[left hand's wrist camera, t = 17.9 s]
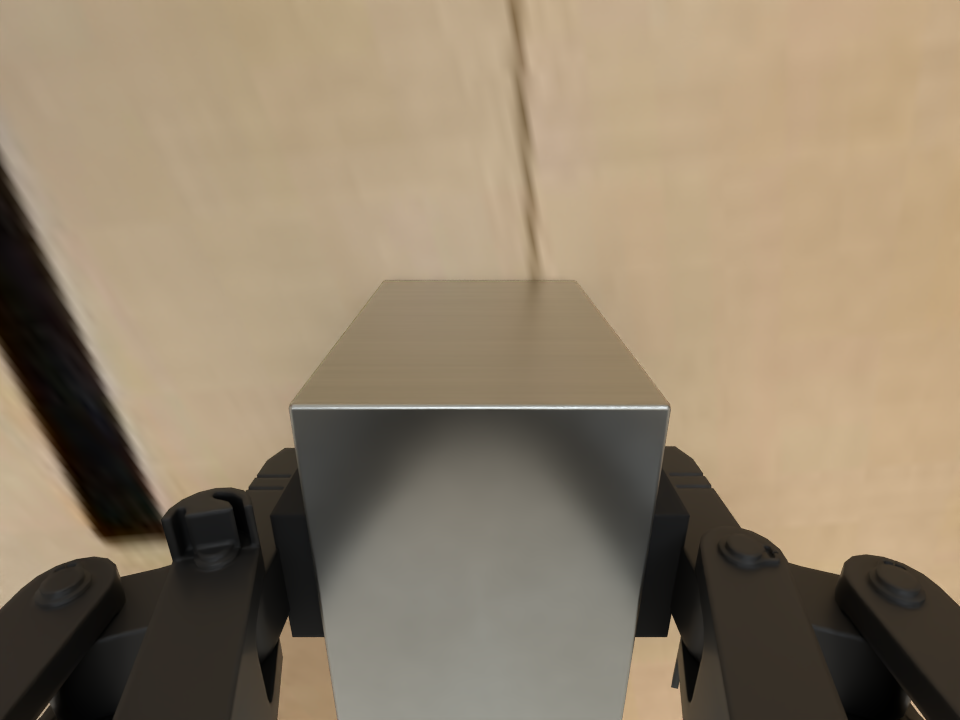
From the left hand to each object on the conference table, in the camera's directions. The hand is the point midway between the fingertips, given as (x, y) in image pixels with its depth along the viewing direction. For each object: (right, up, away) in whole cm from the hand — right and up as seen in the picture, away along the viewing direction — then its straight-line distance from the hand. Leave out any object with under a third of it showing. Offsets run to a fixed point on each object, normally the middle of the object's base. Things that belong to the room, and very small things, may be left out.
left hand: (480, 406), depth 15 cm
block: (0, 0, +1) cm, 1 cm away
